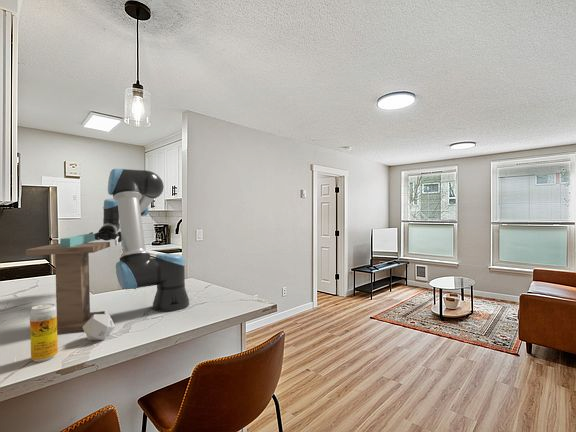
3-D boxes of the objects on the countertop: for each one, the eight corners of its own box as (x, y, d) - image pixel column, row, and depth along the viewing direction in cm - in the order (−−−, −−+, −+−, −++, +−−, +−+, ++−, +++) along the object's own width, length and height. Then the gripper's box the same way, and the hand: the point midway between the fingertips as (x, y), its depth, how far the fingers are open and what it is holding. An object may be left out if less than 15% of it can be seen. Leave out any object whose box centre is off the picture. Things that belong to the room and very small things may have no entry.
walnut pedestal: (55, 319, 123) (53, 243, 123) (111, 313, 128) (109, 241, 128) (28, 338, 104) (25, 249, 103) (95, 331, 109) (93, 246, 109)
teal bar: (87, 240, 134) (87, 233, 134) (95, 240, 135) (94, 233, 135) (60, 247, 109) (60, 238, 109) (70, 246, 110) (69, 238, 110)
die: (91, 348, 97) (112, 320, 100) (71, 333, 99) (92, 306, 101) (105, 346, 105) (124, 321, 108) (86, 333, 106) (105, 308, 109)
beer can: (33, 365, 85) (31, 311, 85) (29, 358, 89) (27, 306, 89) (60, 357, 90) (58, 305, 90) (55, 351, 94) (53, 302, 94)
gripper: (134, 237, 167) (129, 249, 148) (80, 239, 158) (68, 252, 139) (133, 224, 166) (129, 234, 146) (79, 225, 157) (66, 236, 137)
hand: (99, 243), depth 143 cm, fingers open, 13 cm apart
